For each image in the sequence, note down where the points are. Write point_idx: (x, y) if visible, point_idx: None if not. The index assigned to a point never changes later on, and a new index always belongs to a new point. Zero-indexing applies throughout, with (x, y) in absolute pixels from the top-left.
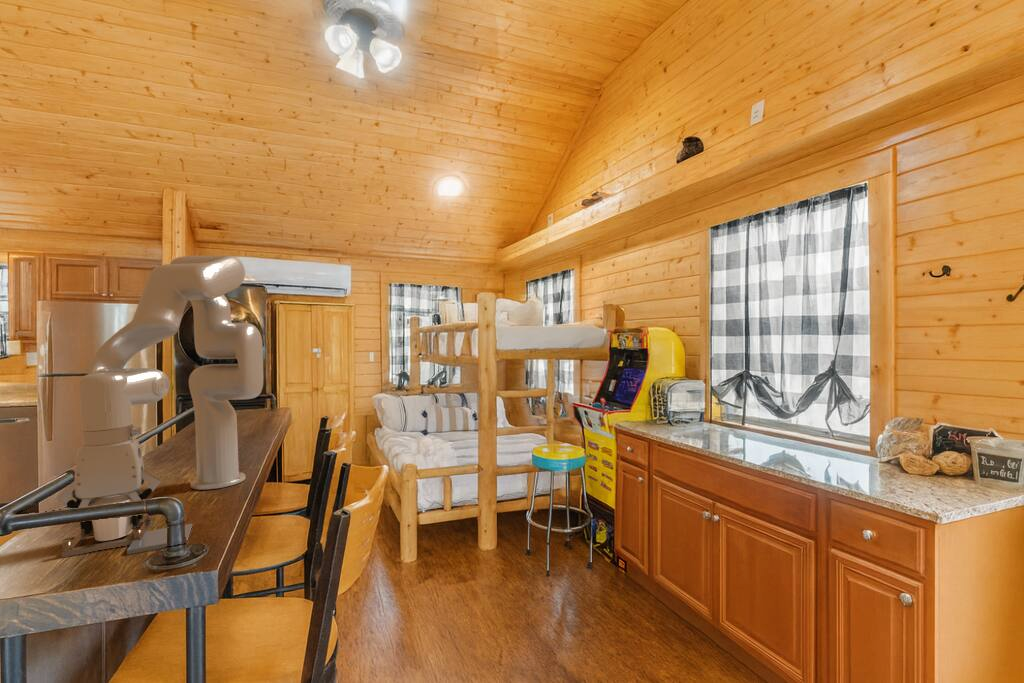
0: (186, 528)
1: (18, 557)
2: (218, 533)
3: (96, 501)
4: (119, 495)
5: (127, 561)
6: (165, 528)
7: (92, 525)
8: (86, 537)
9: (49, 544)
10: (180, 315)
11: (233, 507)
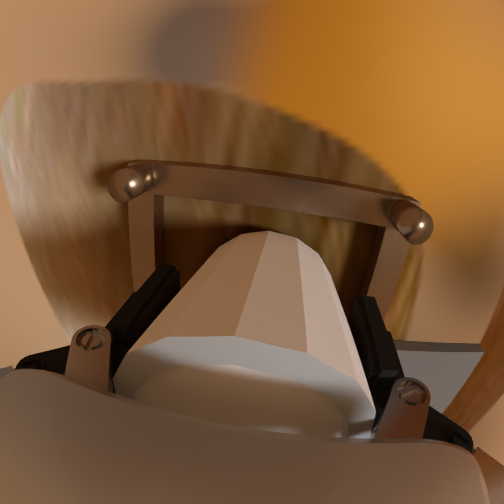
0: (456, 383)
1: (46, 271)
2: (479, 406)
3: (143, 398)
4: (282, 380)
5: None
6: (424, 355)
7: (172, 297)
8: (162, 213)
9: (69, 202)
10: None
11: None
